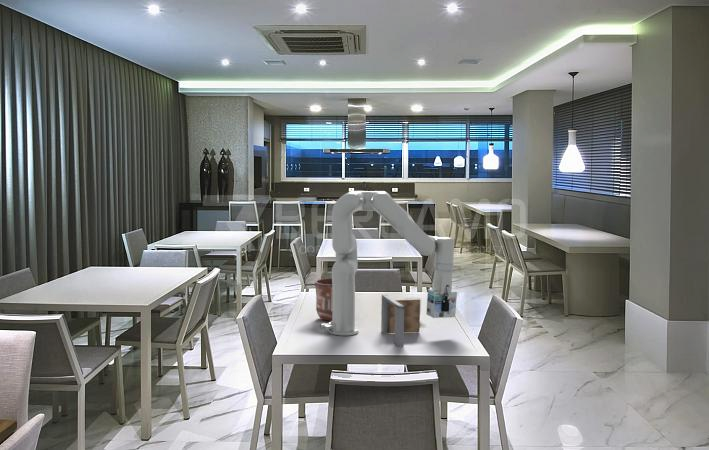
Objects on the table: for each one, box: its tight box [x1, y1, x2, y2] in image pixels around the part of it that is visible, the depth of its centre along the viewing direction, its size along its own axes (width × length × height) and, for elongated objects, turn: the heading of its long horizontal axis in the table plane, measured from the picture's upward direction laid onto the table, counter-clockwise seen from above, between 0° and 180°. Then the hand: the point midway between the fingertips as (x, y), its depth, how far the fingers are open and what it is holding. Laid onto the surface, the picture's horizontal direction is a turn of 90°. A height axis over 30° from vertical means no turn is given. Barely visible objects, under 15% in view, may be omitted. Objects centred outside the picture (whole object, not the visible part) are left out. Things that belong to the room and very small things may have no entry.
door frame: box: [380, 294, 405, 348], centre depth 249 cm, size 2×24×16 cm, turn 14°
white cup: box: [403, 296, 422, 313], centre depth 282 cm, size 8×8×10 cm
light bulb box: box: [425, 288, 458, 319], centre depth 254 cm, size 11×7×11 cm, turn 112°
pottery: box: [314, 277, 333, 323], centre depth 281 cm, size 18×18×18 cm
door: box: [386, 298, 421, 334], centre depth 258 cm, size 14×1×14 cm, turn 99°
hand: (441, 308), depth 254 cm, fingers closed on light bulb box, 7 cm apart
